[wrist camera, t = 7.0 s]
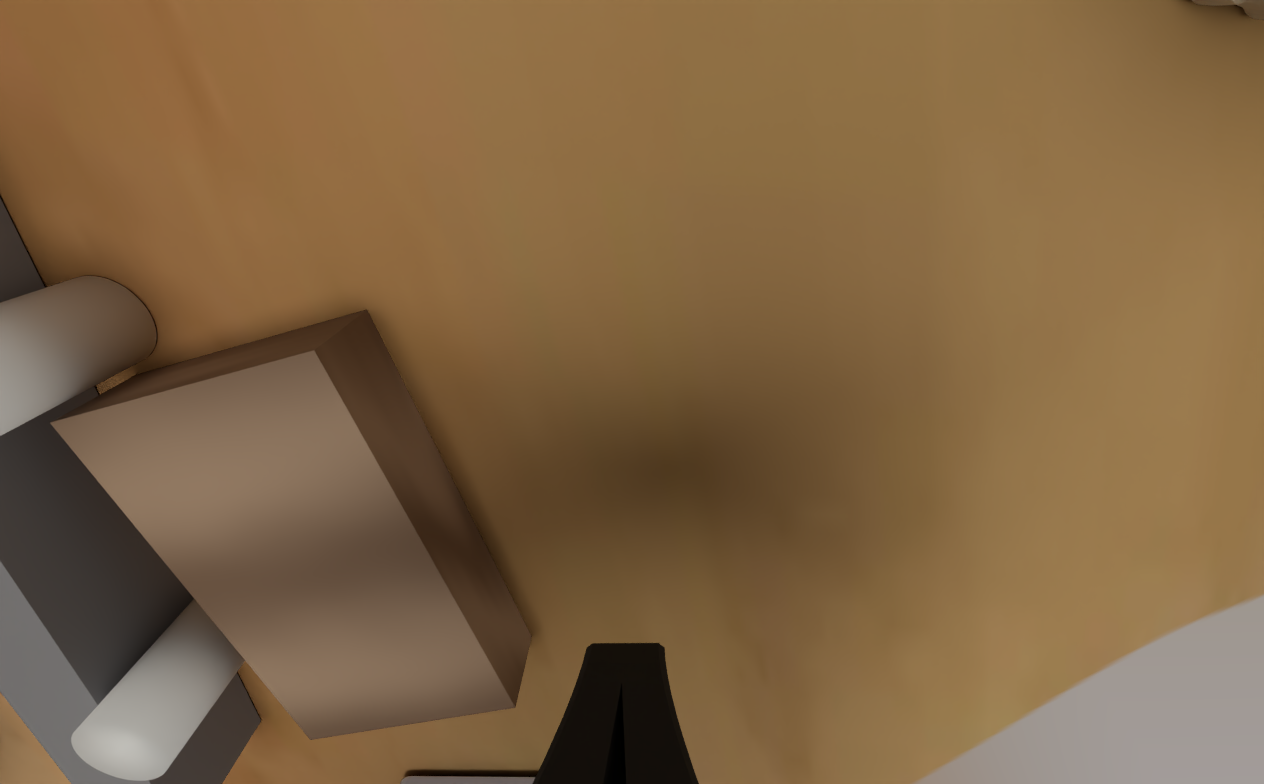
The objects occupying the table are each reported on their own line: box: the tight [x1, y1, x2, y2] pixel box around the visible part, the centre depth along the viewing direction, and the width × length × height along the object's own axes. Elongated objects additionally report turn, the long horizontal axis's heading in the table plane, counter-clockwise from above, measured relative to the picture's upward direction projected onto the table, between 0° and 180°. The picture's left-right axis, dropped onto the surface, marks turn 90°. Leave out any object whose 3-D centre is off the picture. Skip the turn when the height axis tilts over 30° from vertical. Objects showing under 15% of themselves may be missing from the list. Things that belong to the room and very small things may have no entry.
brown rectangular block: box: [50, 310, 532, 740], centre depth 17 cm, size 12×7×3 cm, turn 16°
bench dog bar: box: [0, 199, 261, 784], centre depth 16 cm, size 22×5×5 cm, turn 3°
